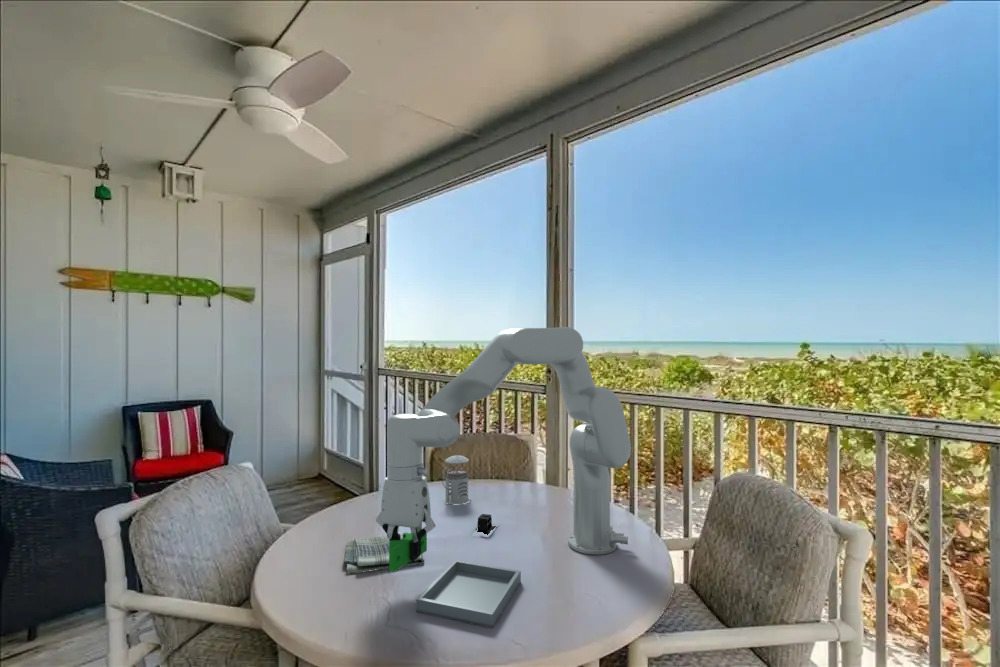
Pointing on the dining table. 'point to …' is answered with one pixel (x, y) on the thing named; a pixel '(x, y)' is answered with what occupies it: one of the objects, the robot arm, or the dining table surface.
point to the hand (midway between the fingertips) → (405, 555)
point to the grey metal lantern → (456, 482)
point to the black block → (485, 524)
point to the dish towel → (370, 554)
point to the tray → (470, 593)
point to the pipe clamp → (403, 551)
